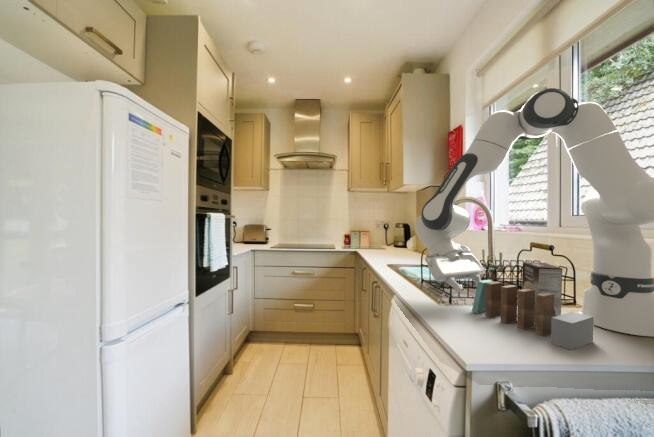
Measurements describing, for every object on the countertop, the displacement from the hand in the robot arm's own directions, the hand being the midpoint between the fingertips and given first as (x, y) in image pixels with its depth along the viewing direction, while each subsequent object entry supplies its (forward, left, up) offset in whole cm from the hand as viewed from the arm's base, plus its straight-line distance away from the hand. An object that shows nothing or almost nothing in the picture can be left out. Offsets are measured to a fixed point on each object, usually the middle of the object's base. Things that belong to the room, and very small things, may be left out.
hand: (471, 289), depth 86 cm
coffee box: (-14, +12, -7) cm, 20 cm away
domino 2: (-4, +4, -7) cm, 9 cm away
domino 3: (-4, +9, -7) cm, 12 cm away
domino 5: (-4, +18, -7) cm, 20 cm away
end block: (-4, +24, -7) cm, 25 cm away
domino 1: (-4, 0, -7) cm, 8 cm away
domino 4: (-4, +13, -7) cm, 16 cm away
